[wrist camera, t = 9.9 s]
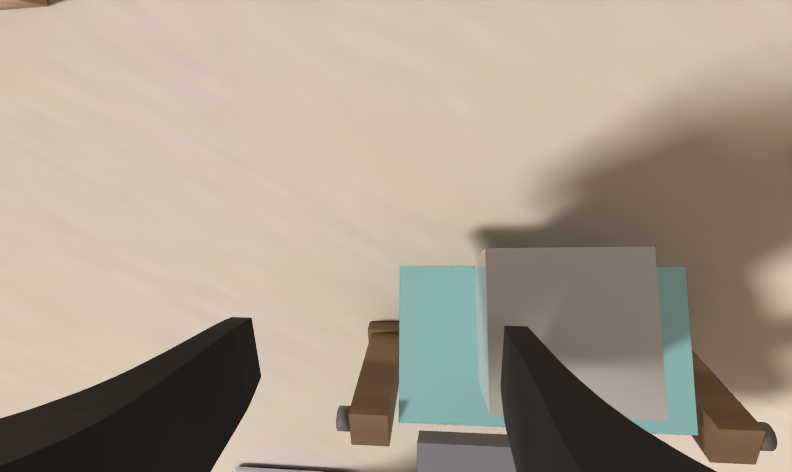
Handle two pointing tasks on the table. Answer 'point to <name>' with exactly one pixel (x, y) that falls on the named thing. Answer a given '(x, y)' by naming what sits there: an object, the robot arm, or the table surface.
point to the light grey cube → (577, 319)
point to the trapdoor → (458, 373)
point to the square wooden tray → (21, 4)
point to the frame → (717, 435)
